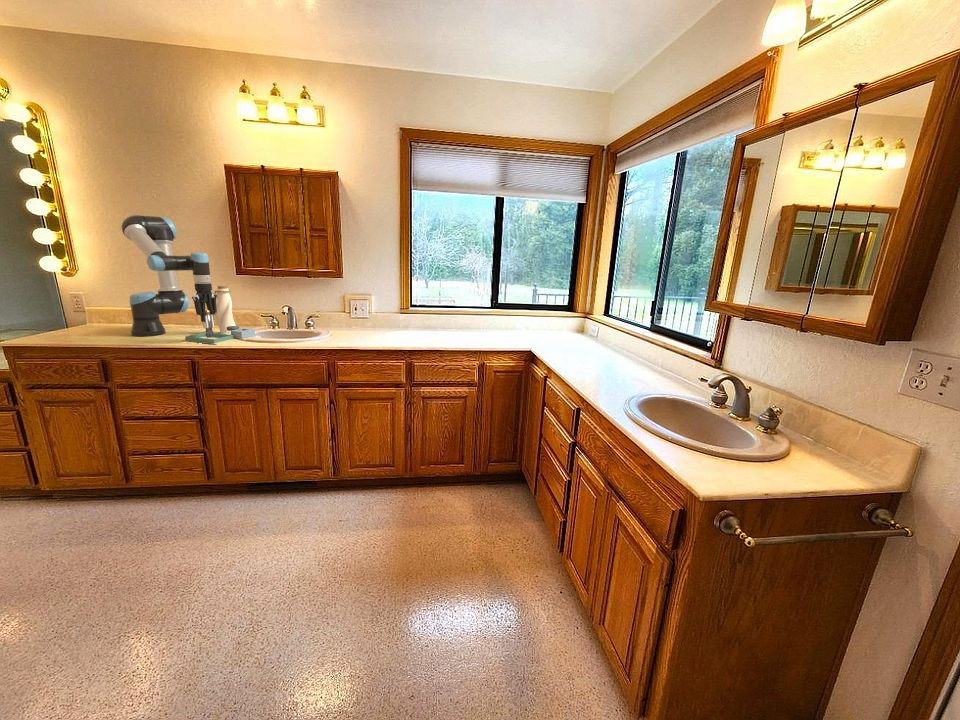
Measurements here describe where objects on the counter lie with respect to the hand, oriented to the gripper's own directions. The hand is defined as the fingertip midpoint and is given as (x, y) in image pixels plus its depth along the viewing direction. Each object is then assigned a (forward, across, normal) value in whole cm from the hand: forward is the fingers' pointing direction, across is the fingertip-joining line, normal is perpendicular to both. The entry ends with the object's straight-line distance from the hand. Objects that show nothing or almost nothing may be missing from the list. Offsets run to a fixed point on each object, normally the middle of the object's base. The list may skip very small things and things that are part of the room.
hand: (208, 327), depth 219 cm
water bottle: (+8, +18, +7) cm, 21 cm away
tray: (+8, 0, 0) cm, 8 cm away
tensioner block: (+8, +12, -7) cm, 16 cm away
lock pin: (+6, 0, 0) cm, 6 cm away
